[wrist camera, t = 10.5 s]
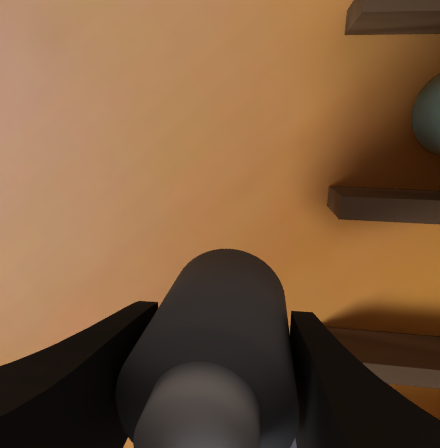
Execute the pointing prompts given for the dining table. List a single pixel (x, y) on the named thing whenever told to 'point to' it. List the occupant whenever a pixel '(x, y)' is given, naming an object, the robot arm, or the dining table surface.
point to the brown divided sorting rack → (391, 211)
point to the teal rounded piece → (428, 116)
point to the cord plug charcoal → (213, 361)
